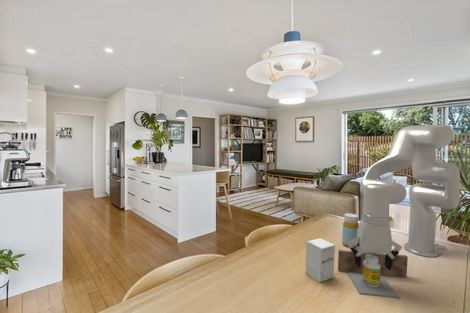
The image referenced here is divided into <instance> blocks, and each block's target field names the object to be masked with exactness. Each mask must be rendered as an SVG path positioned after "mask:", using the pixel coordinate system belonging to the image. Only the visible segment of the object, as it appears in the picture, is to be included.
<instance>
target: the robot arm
mask: <svg viewBox="0 0 470 313" xmlns="http://www.w3.org/2000/svg"><path fill="white" fill-rule="evenodd" d="M453 137H454V132H453V129H452V127H451V126H450V125H447V124H431V125H430V124H429V125H428V124H427V125H425V124H423V125H422V124H421V125H420V124H419V125H408V126H404V127H402V128H400V129H399V130H398V131H397V132H396V133H395V136H394V138H393V141H392V142H391V146H390V147H389V150H388V153H387V155H386V156H385V157H382V158H381V159H379V160H378V161H376V162H375V163H374V164H372V165H371V166H369V167H368V169H367V170H366V172H365V174H364V176H363V178H362V180H361V183H360V186H359V191H360V195H361V196H362V197H363V203H362V204H363V207H362V220H359V222H358V224H359V226H358V231H357V238H355V239H352V240H350V241H347V244H348V246H349V247H348V248H349V249H350V251H352V252H353V253H354V254H355V260H354V261H355V264H356V265H357V266H358V268H360V267H361V256H360V255H361V254H362V253H363V252H372V253H384V254H387V255H386V256H385V266H386V268H387V269H388V270H391V267H392V263H393V259H394V258H395V256H396V255H400V254H399V253H400V252H401V250H402V249H403V248H404V249H405V250H406V251H408V252H410V253H412V254H414V255H418V256H422V257H426V258H428V257H429V258H436V257H438V256H439V250H442V251H446V250H447V246H446V245H444V244H443V245H441V244H439V243H437V242H435V239H436V228H437V227H436V225H437V215H436V212H435V210H434V209H433V208H432V207H434V208H435V207H436V208H441V209H446V210H455V209H457V208H458V206H459V205H460V201H461V199H460V198H461V172H460V168H459V167H458V165H457V164H455V163H453V162H446V161H445V162H443V161H437V151H436V150H437V149H442V148H444V147H446V146H448V145H450V144H451V142H452V140H453ZM411 166H412V167H411ZM410 167H411V170H412V171H411V172H412V178H413V179H414V180H415V181H418V182H417V183H414V184H412V185H410V186H409V188H408V193H407V189H406V186H404V185H403V184H402V183H399V182H395V181H388V180H382V179H379V178H380V177H381V176H383V175H385V174H388V173H393V172H397V171H401V170H404V169H405V170H406V169H408V168H410ZM419 182H421V183H419ZM407 194H408V197H409V209H410V210H409V226H408V242H406V243H404V244H403V246H402V245H401V244H399V243H397V242H395V241H393V236H392V231H391V226H390V224H389V222H392V221H393V217H392V216H389V210H390V209H389V205H392V204H393V205H394V204H396V205H397V204H400V203H402V202H403V201H404V200H405V199H406V197H407ZM354 244H356V245H357V246H358V247H356V248H354V247H353V245H354ZM392 247H394V248H392Z"/></svg>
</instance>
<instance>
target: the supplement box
mask: <svg viewBox="0 0 470 313" xmlns="http://www.w3.org/2000/svg"><path fill="white" fill-rule="evenodd" d="M305 248H306V250H305V252H306V253H305V273H306V274H307V275H308V276H309V277H311V278H312V279H314V280H315V281H317V282H318V283H322V282H324V281H326V280H330V279H332V278H334V273H335V270H334V269H335V254H336V253H335V251H336V244H334V243H332V242H329V241H328V240H325V239H323V238H321V237H319V238H316V239H312V240H307V241H306V247H305Z"/></svg>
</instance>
